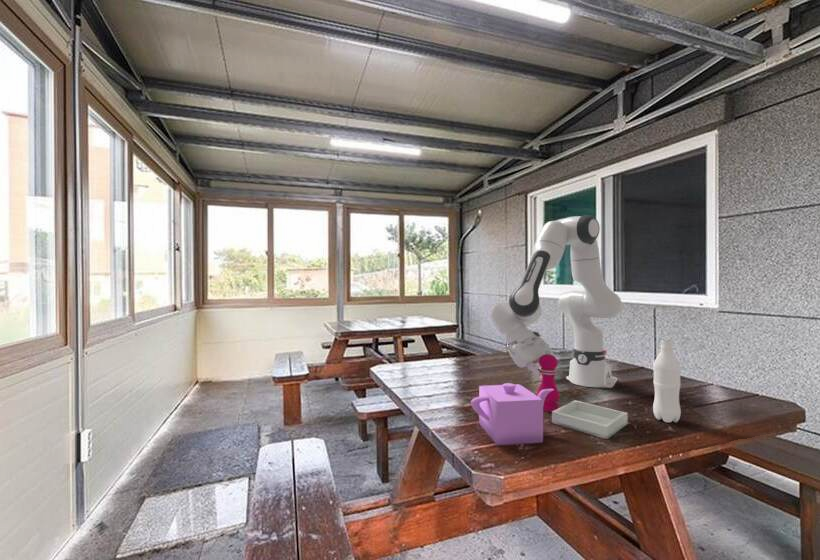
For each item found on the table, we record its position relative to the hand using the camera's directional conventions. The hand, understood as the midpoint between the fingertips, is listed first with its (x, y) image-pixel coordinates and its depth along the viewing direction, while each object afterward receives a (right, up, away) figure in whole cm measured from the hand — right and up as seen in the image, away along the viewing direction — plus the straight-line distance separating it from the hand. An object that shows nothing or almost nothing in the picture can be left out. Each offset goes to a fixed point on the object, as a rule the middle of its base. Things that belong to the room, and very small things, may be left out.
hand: (546, 372), depth 129 cm
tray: (+8, -12, -13) cm, 20 cm away
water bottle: (+34, -13, -10) cm, 38 cm away
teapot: (-17, -13, -20) cm, 29 cm away
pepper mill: (0, -12, 0) cm, 13 cm away
